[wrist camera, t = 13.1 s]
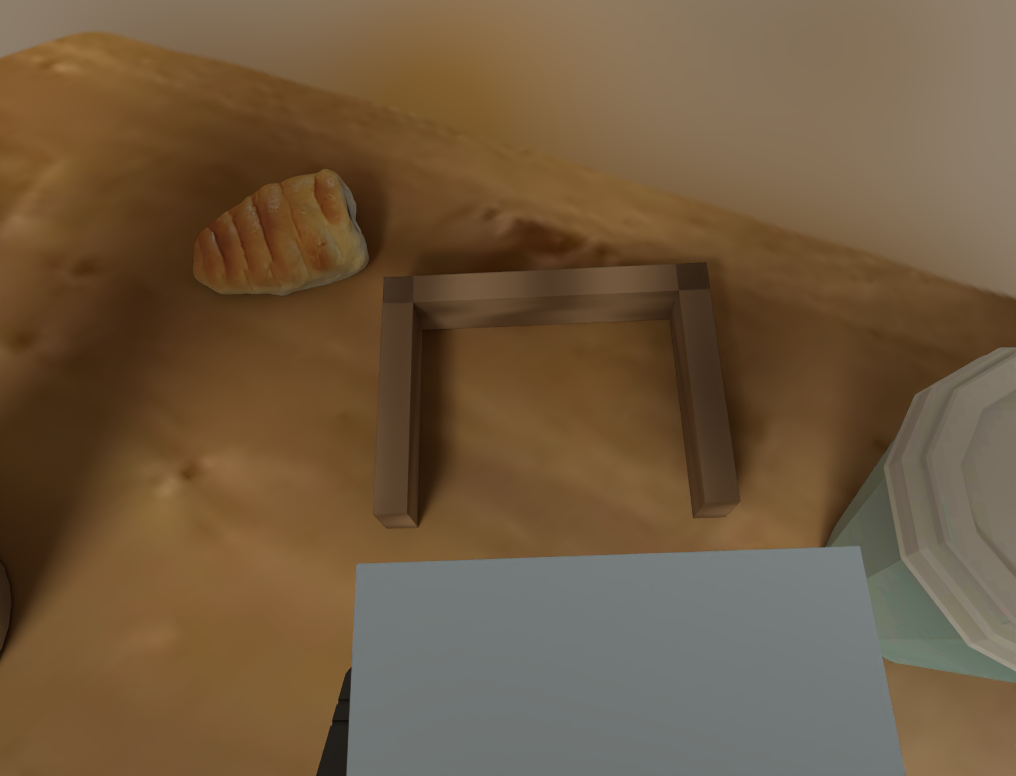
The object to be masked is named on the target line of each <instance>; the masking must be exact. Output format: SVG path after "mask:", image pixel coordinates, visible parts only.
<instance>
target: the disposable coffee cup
mask: <svg viewBox="0 0 1016 776" xmlns="http://www.w3.org/2000/svg"><path fill="white" fill-rule="evenodd" d="M848 546H860V549H861V554H862V559H863V564H864V569H865V574H866V579H867V584H868V589H869V594H870V599H871V604H872V609H873V614H874V619H875V624H876V629H877V634H878V639H879V644H880V649H881V654H882V657H884V658H885V659H887V660H889V661H891V662H894V663H900V664H906V665H912V666H918V667H924V668H930V669H935V670H941V671H947V672H953V673H959V674H965V675H971V676H977V677H983V678H989V679H995V680H1000V681H1006V682H1012V683H1016V347H999V348H998V349H996V350H994V351H992V352H991V353H989V354H987V355H986V356H981V357H979V358H977V359H976V360H974V361H972V362H971V363H969V364H967V365H965V366H964V367H962V368H960V369H958V370H957V371H955V372H953V373H952V374H950V375H948V376H946V377H945V378H943V379H941V380H939V381H938V382H936V383H934V384H933V385H931V386H929V387H927V388H926V389H924V390H922V391H920V392H919V393H917V394H915V395H914V398H913V400H912V402H911V405H910V407H909V409H908V412H907V414H906V416H905V419H904V421H903V423H902V426H901V428H900V430H899V432H898V434H897V435H896V437H895V438H894V440H893V441H892V443H891V444H890V446H889V447H888V449H887V450H886V452H885V453H884V455H883V456H882V457H881V459H880V460H879V462H878V463H877V465H876V466H875V468H874V469H873V471H872V472H871V474H870V475H869V477H868V478H867V480H866V481H865V482H864V484H863V485H862V487H861V488H860V490H859V491H858V493H857V494H856V496H855V497H854V499H853V500H852V502H851V503H850V505H849V506H848V508H847V509H846V510H845V512H844V513H843V515H842V516H841V518H840V519H839V521H838V522H837V524H836V525H835V527H834V529H833V531H832V533H831V535H830V538H829V540H828V542H827V544H826V547H848Z"/></svg>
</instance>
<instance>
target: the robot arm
mask: <svg viewBox="0 0 1016 776" xmlns="http://www.w3.org/2000/svg"><path fill="white" fill-rule="evenodd" d="M10 613H11V594H10V584H9V581H8V578H7V575H6V572H5V569H4V567H3V565H2V564H1V562H0V651H1V649H2V646H3V643H4V640H5V637H6V634H7V630H8V627H9V621H10ZM351 671H352V667H351V668H350V669H349V670H348V672H347V673H346V675H345V678H344V681H343V685H342V688H341V692H340V695H339V699H338V704H337V706H336V709H335V713H334V716H333V719H332V726H330V730H329V733H328V737H327V740H326V744H325V747H324V751H323V754H322V757H321V761H320V764H319V768H318V771H317V775H316V776H347V755H348V734H349V713H350V692H351Z"/></svg>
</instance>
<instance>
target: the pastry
mask: <svg viewBox="0 0 1016 776" xmlns="http://www.w3.org/2000/svg"><path fill="white" fill-rule="evenodd" d="M368 262H369V255H368V251H367V244H366V241H365V239H364V237H363V235H362V233H361V229H360V228H359V226H358V224H357V222H356V203H355V201H354V199H353V195H352V193H351V191H350V189H349V188H348V186H346V185H345V183H344V182H343V180H342V179H341V177H340V176H339V175H338V174H337V173H335V172H334V171H332V170H327V169H323V170H321V171H320V172H318V173H315V174H306V175H300V176H294V177H291V178H288V179H286V180H284V181H283V182H280V183H273V184H267V185H264V186H262V187H261V188H260V189H259V190H258V191H256V192H255V193H253V194H252V195H250V196H248V197H246V198H245V200H244V201H243V202H242V203H240V204H238V205H236V206H234V207H232V208H230V210H229V211H226V212H224V213H223V214H222V215H221V216H220V217H219V218H217V219H215V220H213V221H212V222H211V223H210V224H209V226H208V227H207V228H206V229H205V230H203V231H201V232H200V233H199V234H198V236H197V239H196V242H195V244H194V248H193V263H194V266H193V269H192V271H193V275H194V277H195V279H196V280H197V281H199V282H200V283H202V284H204V285H205V286H207V287H209V288H211V289H212V290H214V291H216V292H217V293H220V294H245V293H248V294H273V295H278V296H286V295H289V294H291V293H292V292H294V291H298V290H305V289H309V288H312V287H317V286H322V285H327V284H330V283H333V282H336V281H339V280H342V279H346V278H348V277H350V276H352V275H353V274H356V273H359V272H360V271H361V270H363V269H364V268H365V267H366V266H367V264H368Z"/></svg>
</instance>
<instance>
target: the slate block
mask: <svg viewBox="0 0 1016 776" xmlns="http://www.w3.org/2000/svg"><path fill="white" fill-rule="evenodd" d="M347 776H906V773H905V768H904V764H903V759H902V754H901V749H900V744H899V739H898V734H897V729H896V724H895V719H894V714H893V709H892V704H891V699H890V694H889V689H888V684H887V679H886V674H885V669H884V664H883V659H882V654H881V649H880V644H879V639H878V634H877V629H876V624H875V619H874V614H873V609H872V604H871V599H870V594H869V589H868V584H867V579H866V574H865V569H864V564H863V559H862V554H861V549H860V546H848V547H820V548H792V549H764V550H735V551H707V552H679V553H651V554H623V555H594V556H566V557H538V558H510V559H482V560H454V561H425V562H397V563H369V564H357V567H356V588H355V609H354V630H353V650H352V671H351V692H350V713H349V734H348V755H347Z"/></svg>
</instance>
